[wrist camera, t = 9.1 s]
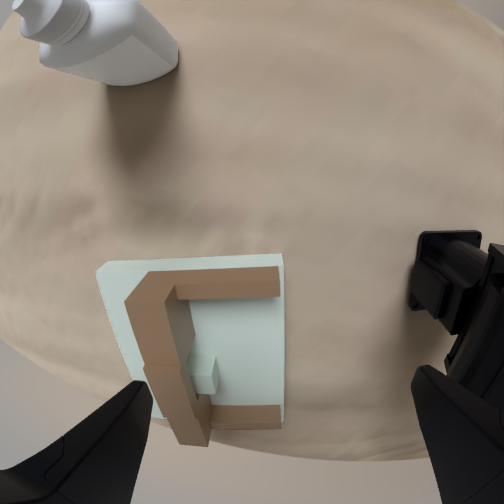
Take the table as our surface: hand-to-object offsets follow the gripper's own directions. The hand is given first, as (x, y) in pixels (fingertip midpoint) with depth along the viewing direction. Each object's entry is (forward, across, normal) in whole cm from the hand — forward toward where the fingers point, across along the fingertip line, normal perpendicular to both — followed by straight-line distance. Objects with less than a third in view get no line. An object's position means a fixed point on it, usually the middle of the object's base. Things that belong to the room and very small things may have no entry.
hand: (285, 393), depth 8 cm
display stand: (+12, +7, +8) cm, 16 cm away
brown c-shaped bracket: (+10, +4, +7) cm, 13 cm away
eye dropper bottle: (+12, +8, -14) cm, 20 cm away
